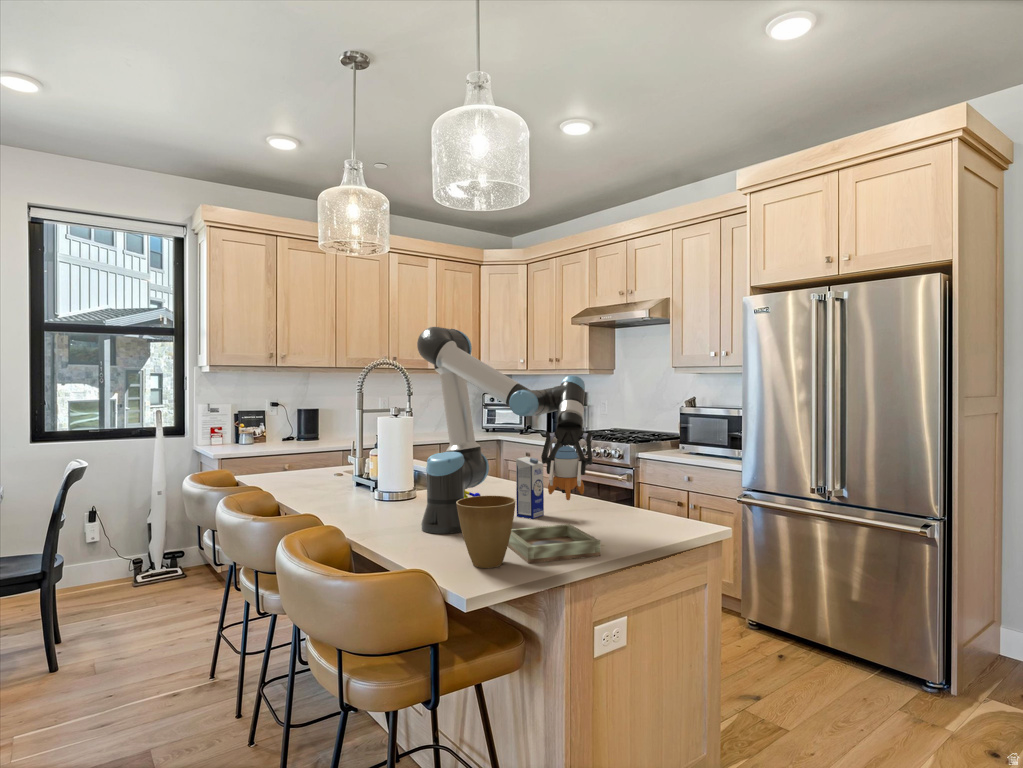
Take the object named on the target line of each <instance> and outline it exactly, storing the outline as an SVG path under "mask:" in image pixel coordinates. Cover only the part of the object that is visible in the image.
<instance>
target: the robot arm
mask: <svg viewBox="0 0 1023 768" xmlns="http://www.w3.org/2000/svg"><path fill="white" fill-rule="evenodd" d="M416 344H417V345H416V348H417V351H418V354H419V355H420V356H421V358H423V359H424V360H425V361H426V362H429V363H430V364H432V365H433V366H434V371H435V372H436V373H438V374H439V376H440V385H441V390H442V391H441V392H442V399H443V406H444V412H445V419H446V428H447V433H448V440H449V446H448V447H447V449H446V450H445V451H443V452H438V453H437V452H436V453H434V454H432V455H430V456H428V458H427V461H426V468H425V471H426V506H425V511H424V513H423V517H422V520H421V531H423V532H425V533H427V534H428V533H430V534H437V535H438V534H439V535H440V534H441V535H442V534H443V535H445V534H446V535H447V534H457V533H461V532H462V530H461V526H460V521H459V516H458V510H457V504H456V502H457V501H458V500H460V499H463V498H464V490H465V491H466V490H467V489H473V488H476V487H477V486H478V485H480V484H482V483H483V482H485V480H486V479H487V478H488V474H489V470H490V465H489V460H488V458H487V457H486V456H485V455H484V453H482V449H481V444H479V443H478V442H477V441H476V439H475V431H474V430H475V429H474V424H473V416H472V410H471V409H472V408H471V404H470V403H471V402H470V397H469V390H468V383H470V384H471V385H473V386H475V387H477V388H478V389H479V390H481V391H483V392H484V393H487V395H490V396H492V397H493V398H494V399H496V400H498V401H500V402H501V403H503V404H505V405H507V406H508V407H509V409H510V410H511V412H512V413H513V414H515V415H516V416H518V417H519V416H520V417H534V416H540V415H544V414H549V413H553V412H557V413H558V414H557V423H556V430H555V431H554V432H550V431H546V432H545V440H544V441H545V442H544V445H543V448H542V453H541V456H540V458H541V462H542V463H543V465H544V464H546V469H545V470H546V474H547V475H549V477H548V481H549V482H548V484H549V483H550V486H553V478H554V477H555V470H554V461H555V455H556V453H557V451H558V449H559V448H561V447H563V446H570V447H573V448H574V449H575V451H576V453H577V455H578V459H579V462H578V476H577V484H578V486H581V480H582V476H585V475H586V472H587V471H586V469H587V466H588V465H589V466H591V465H593V452H592V441H593V433H592V431H589V432H588V433H585V432H584V430H583V425H584V424H583V423H584V412H585V411H584V408H585V407H584V405H585V396H586V386H585V385H586V384H585V381H584V380H583V379H582V378H581V377H579V376H577V375H567V376H565V377H563V379H561V382H560V385H556V386H553V387H550V388H544V389H536V390H535V389H529V388H528V387H526V386H524V385H523V384H521V383H519V382H518V381H516V380H514V379H513V378H511V377H509V376H507V375H506V374H504V373H502V372H500V371H499V370H497V369H495V368H494V367H492V366H490V365H489V364H487V363H485V362H484V361H482V360H480V359H478V358H477V357H475V356H473V355H472V349H473V347H472V342H471V340H470V339H469V336H467V335H466V334H465V333H464V332H463V331H460V330H459V329H456V328H445V327H440V326H430V327H428V328H426V329H424V330H423V331H422V332H421V333H420V334H419V336H418V338H417V342H416ZM554 438H556V443H555V444H554V447H552V450H551V445H552V442H553V440H554ZM583 438H584V441H585V442H586V453H587V458H586V457H585V454H584V452H583V449H582V447H581V444H580V441H581V440H582V439H583ZM550 450H551V451H550Z"/></svg>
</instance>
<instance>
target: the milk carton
mask: <svg viewBox="0 0 1023 768" xmlns="http://www.w3.org/2000/svg"><path fill="white" fill-rule="evenodd" d="M515 464H516V465H515V469H516V470H515V471H516V472H515V473H516V474H515V479H516V481H515V482H516V483H515V484H516V486H515V487H516V488H515V489H516V491H515V492H516V494H515V495H516V518H522V517H524V518H523V519H529V518H531V519H532V520H534V519H537V518H540V517H543V516H545V511H544V510H545V508H544V506H545V504H544V501H545V500H544V497H545V496H544V495H545V494H544V487H545V486H544V464H543V463H542V461H540V460H539V459H538V458H535V457H529V456H525V457H518V458H516V459H515ZM531 519H530V520H531Z"/></svg>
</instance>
